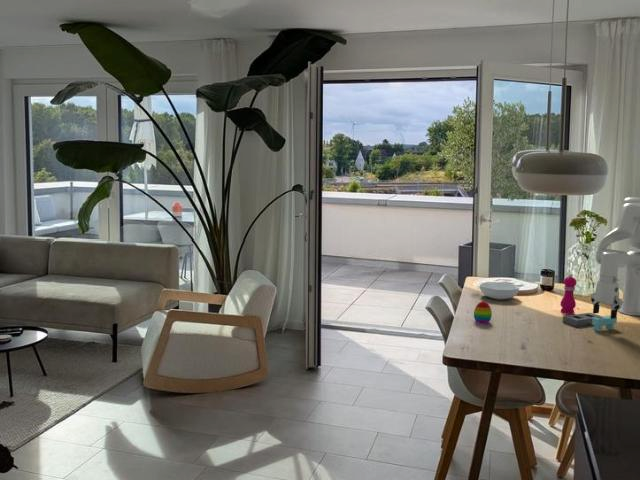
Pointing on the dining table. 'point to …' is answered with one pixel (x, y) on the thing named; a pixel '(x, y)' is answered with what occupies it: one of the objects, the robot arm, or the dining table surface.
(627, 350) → the dining table surface
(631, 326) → the dining table surface
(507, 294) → the serving bowl
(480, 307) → the decorative egg
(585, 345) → the dining table surface
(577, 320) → the rail
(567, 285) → the pepper mill
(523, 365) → the dining table surface
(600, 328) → the clip
